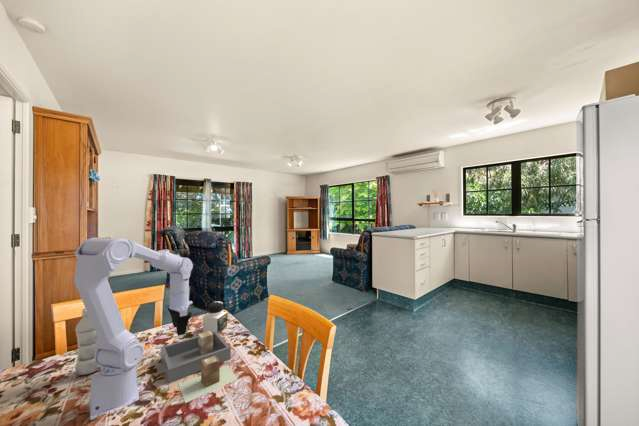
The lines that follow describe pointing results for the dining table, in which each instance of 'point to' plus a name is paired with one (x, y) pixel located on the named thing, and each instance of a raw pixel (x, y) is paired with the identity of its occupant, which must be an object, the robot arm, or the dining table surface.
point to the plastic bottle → (86, 346)
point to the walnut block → (210, 371)
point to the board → (197, 389)
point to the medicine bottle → (215, 318)
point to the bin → (190, 356)
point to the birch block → (205, 342)
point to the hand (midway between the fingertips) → (179, 330)
